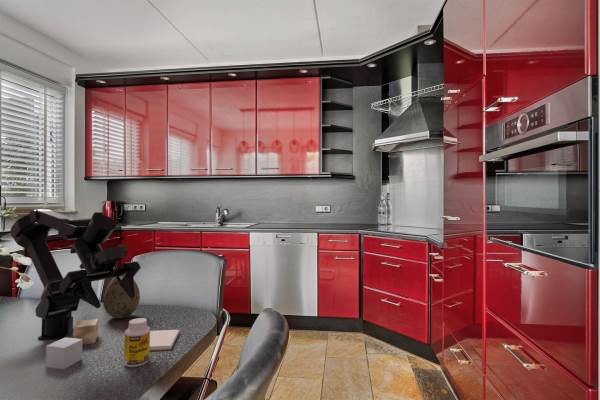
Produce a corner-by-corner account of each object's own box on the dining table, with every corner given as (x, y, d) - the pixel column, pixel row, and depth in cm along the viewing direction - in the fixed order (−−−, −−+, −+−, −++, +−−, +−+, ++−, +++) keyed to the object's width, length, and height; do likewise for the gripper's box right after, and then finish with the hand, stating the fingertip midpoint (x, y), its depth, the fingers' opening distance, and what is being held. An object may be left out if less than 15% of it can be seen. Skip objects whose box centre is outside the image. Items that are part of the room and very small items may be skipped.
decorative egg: (96, 318, 108) (97, 273, 108) (128, 310, 117) (129, 268, 117) (113, 326, 102) (114, 278, 102) (145, 316, 111) (146, 272, 111)
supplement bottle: (124, 370, 75) (126, 326, 75) (122, 360, 80) (123, 319, 80) (151, 364, 78) (152, 322, 79) (147, 355, 83) (148, 315, 83)
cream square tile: (126, 351, 85) (126, 347, 85) (140, 334, 96) (140, 331, 96) (170, 349, 87) (170, 345, 87) (179, 333, 98) (179, 329, 98)
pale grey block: (45, 367, 76) (46, 345, 76) (64, 357, 81) (65, 337, 81) (63, 369, 75) (64, 347, 76) (81, 359, 80) (82, 339, 80)
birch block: (73, 346, 88) (73, 327, 88) (77, 338, 92) (77, 321, 92) (94, 343, 90) (95, 324, 90) (97, 336, 94) (98, 318, 94)
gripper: (67, 238, 77) (95, 291, 72) (137, 233, 94) (163, 275, 89) (47, 268, 80) (72, 320, 75) (118, 257, 97) (143, 300, 92)
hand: (117, 302), depth 83 cm, fingers open, 9 cm apart
